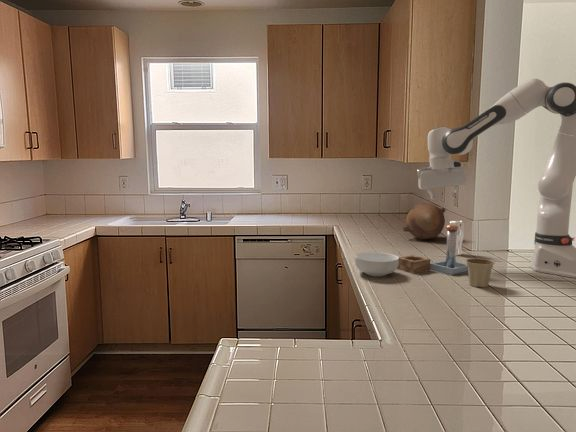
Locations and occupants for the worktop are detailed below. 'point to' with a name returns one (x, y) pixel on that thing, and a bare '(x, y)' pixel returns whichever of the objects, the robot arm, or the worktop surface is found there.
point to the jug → (425, 221)
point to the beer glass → (458, 235)
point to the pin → (451, 245)
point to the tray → (442, 268)
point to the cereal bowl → (376, 263)
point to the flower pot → (479, 271)
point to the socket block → (414, 264)
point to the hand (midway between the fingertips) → (444, 197)
